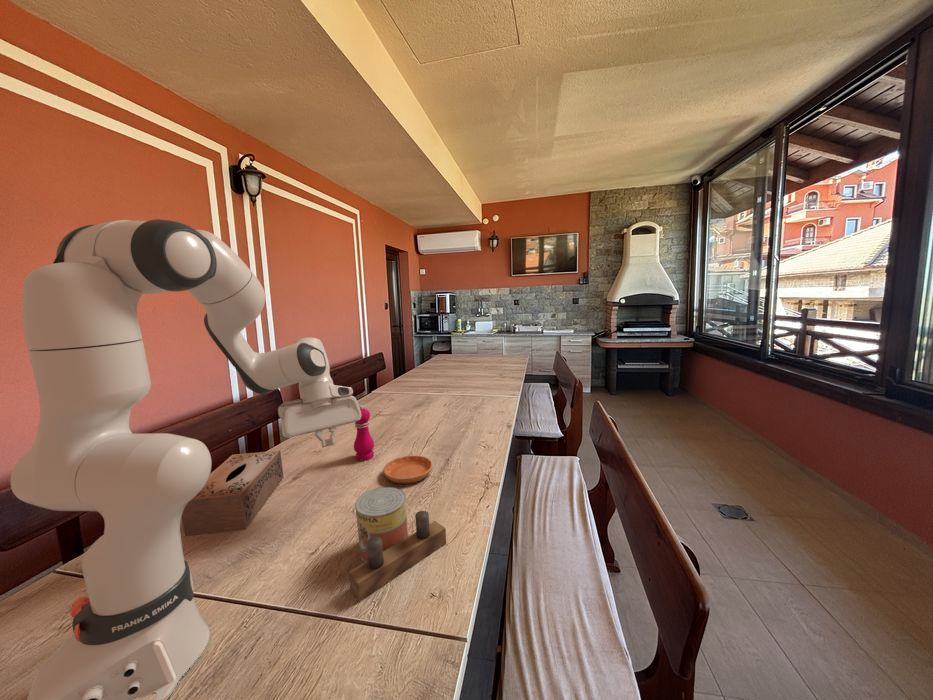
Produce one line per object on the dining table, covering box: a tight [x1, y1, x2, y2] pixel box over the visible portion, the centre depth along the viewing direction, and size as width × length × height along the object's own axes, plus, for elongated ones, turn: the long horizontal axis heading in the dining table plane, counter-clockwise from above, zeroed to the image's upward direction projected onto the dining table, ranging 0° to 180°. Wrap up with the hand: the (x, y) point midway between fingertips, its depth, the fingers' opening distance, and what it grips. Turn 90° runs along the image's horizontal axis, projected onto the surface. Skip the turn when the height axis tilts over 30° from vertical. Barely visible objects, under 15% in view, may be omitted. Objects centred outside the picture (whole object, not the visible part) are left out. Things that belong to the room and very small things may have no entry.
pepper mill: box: [353, 404, 375, 462], centre depth 127 cm, size 7×7×20 cm
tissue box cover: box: [181, 450, 284, 537], centre depth 101 cm, size 26×14×10 cm, turn 8°
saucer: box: [383, 455, 433, 485], centre depth 116 cm, size 16×16×3 cm
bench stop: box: [348, 510, 447, 602], centre depth 76 cm, size 22×4×9 cm, turn 134°
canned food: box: [354, 486, 409, 563], centre depth 81 cm, size 11×11×12 cm
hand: (328, 445), depth 94 cm, fingers closed
